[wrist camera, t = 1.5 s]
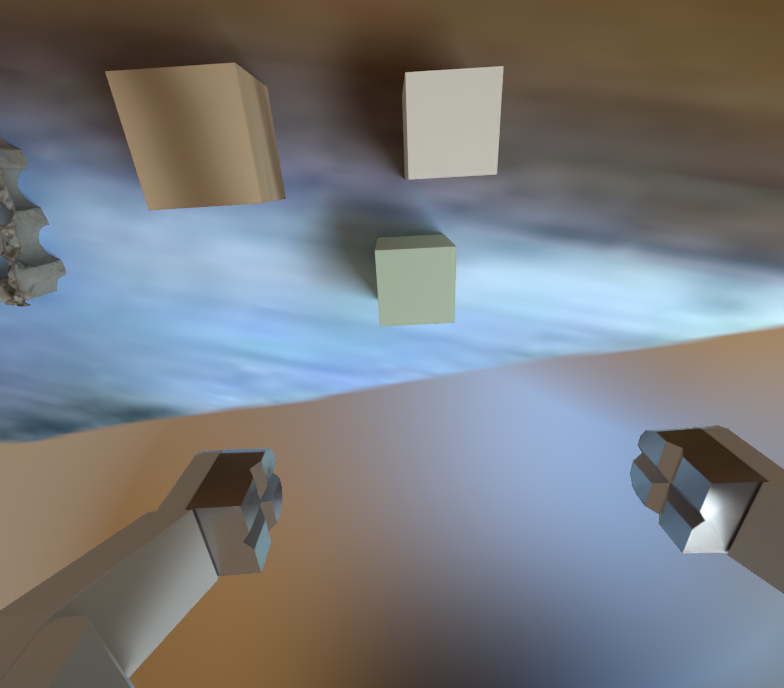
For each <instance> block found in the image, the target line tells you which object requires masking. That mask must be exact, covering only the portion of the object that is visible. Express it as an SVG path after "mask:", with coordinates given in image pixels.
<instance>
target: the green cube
mask: <svg viewBox="0 0 784 688" xmlns="http://www.w3.org/2000/svg"><path fill="white" fill-rule="evenodd" d="M375 261H376V276H377V290H378V305H379V320H380V326H397V325H417V324H437V323H455V280H456V246H455V245H454V244H453V243H452V242H451V241H450V240H449V239H448V238H447V237H446V236H445V235H444V234H436V235H417V236H398V237H379V238H377V242H376V247H375Z"/></svg>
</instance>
